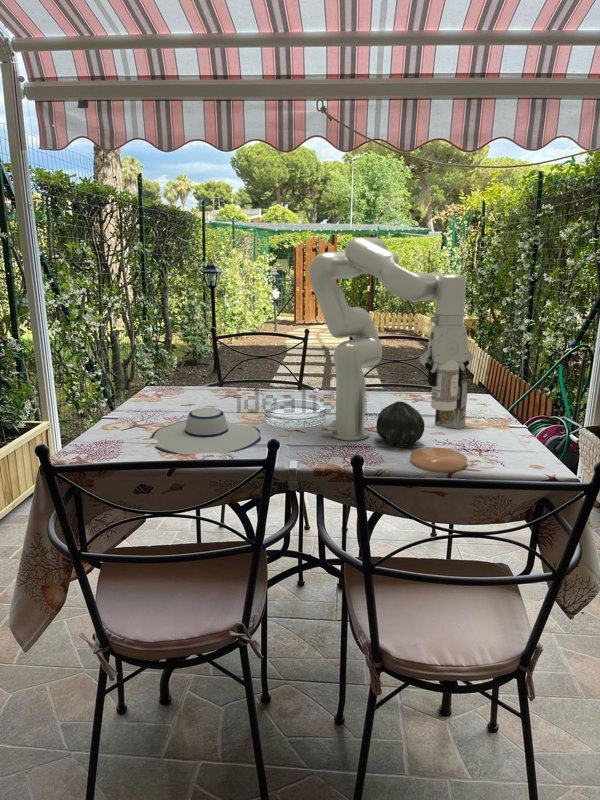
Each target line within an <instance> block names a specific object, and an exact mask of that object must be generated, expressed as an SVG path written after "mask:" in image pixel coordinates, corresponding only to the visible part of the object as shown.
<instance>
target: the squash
mask: <svg viewBox="0 0 600 800" xmlns="http://www.w3.org/2000/svg"><path fill="white" fill-rule="evenodd" d="M377 416H378V417H377V419H376V427H375V428H376V433H377V434H378V436H379V437H380V438H381V439H382V440H383V441H385V442H387V444H389V446H392V447H394V446H398V447H400V448H403V447H405V446H409V447H410V446H414V445H415V444H416V443H417V442H418V441H420V440H421V439H422V436H423V435H424V432H425V426H426V425H425V424H426V423H425V421H424V418H423V417H422V415H421V413H420V412H419V411H418V410H416V408H415V407H413V406H412V405H411V404H409V403H407V402H405V401H401V400H398V401H395V402H393V403H391V404H389V405H388V406H386V407H384V408H383V409H381V411H380V412H379V414H378V415H377Z"/></svg>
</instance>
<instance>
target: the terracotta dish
mask: <svg viewBox="0 0 600 800" xmlns="http://www.w3.org/2000/svg"><path fill="white" fill-rule="evenodd" d="M409 458H410V460H409V461H410V463H411V464H412V465H413V466H415V467H417V468H419V469H422V470H425V471H429V472H436V473H455V472H460V471H462V470H464V469H466V468H467V466H468V458H467V456H466V455H465V454H463V453H462V452H459V451H457V450H454V449H450V448H444V447H433V446H430V447H420V448H416V449H415V450H413V451H411V452H410V457H409Z"/></svg>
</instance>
